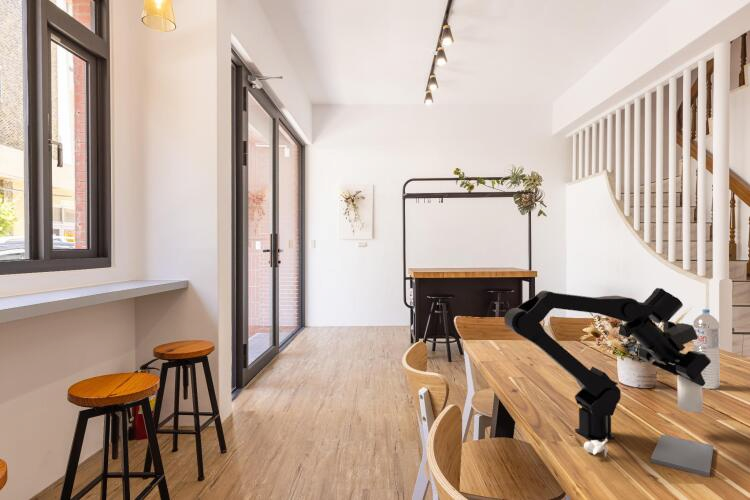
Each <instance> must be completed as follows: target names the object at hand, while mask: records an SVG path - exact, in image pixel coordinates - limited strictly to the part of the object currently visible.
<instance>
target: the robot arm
mask: <svg viewBox="0 0 750 500" xmlns="http://www.w3.org/2000/svg"><path fill="white" fill-rule="evenodd" d="M683 306H684V304H683V302H682V301H681V299H679V298H678V297H676V296H674V295H673V294H671V293H669V292H668V291H666V290H665V289H664V288H661V287H656V288H655V289H654V290H653V291H652V293H651V295H649V296H648V298H647V299H645V301H642V302H640V301H638V300H636V299H635V298H632V297H628V296H627V297H626V296H620V295H604V296H596V297H593V296H592V297H591V296H583V295H577V294H570V293H569V294H567V293H561V292H560V293H559V292H553V291H549V290H541V291H539V292H538V293H537V294H536V295H534V296H533V297H531V298H529V299H528V300H526V301H524V302H522V303H520V304H519V305H518V306H517V307H513V308H510V309H509V310H507V311H506V313H505V315H504V318H503V319H504V320H503V321H504V325H505V326H506V328H508V329H509V330H511V331H512V332H514V333H515V334H518V335H519V336H520V337H523V338H524V339H526V340H528V341H529V342H531V343H532V344H534V345H535V346H536V347H537V348H538V349H540V350H541V351H542V352H543V353H545V355H547V356H548V357H549V358H550V359H551V360H553V362H555V363H556V364H557V365H559V366H560V367H561V368H562V369H563V370H564V371H565V372H567V373H568V374H569V375H571V377H572V378H574V380H575V381H576V382H577V383H576V384H578V386H579V387H580V388H581V389H580V390H579V391H578V392H576V394H575V395H574V399H575V402H576V404H577V405H579V406H581V408H580V407H579V408H578V428H574V432H575V433H577V434H579V435H581V436H583V437H584V438H586V439H587V440H589V441H591V440H598V441H599V442H600V441H604V440H605V439H606V437H607V440H614V439H616V436H615V435H613V434H612V416H613V415H614V414H615V410H616V408H617V405H618V404H619V402H620V400H621V397H622V392H621V389H620V388H619V387H618V385H619V384H618V382H616V381H615V380H613V379H611V378H610V377H609V375H608V374H607V373H606V372H604V371H602V370H601V369H598V368H597V367H595V366H591V368H590V369H589V368H588V367H587V366H586V365H584V364H583V363H582V362H581V361H580V360H579V359H578V358H576V357H575V356H574V355H572V354H571V353H570V352H569V351H568V350H567V349H565V348H564V347H563V346H562V345H561V344H560V343H558V342H557V341H556V340H555V339H554V338H553V337H551V336H550V335H549V334H548V333H547V332H546V330H545V328H544V327H543V325H542V323H541V322H542V321H543V320H544V319H546V317H547V316H548V314H549V313H550V312H551V311H552V310H553V309H557V310H567V311H575V312H581V313H582V312H584V313H589V314H590V313H592V314H598V315H601V316H603V317H604V316H605V317H608V318H611V319H615V320H618V321H622V322H624V324H619V326H618V327H619V329H618V335H619V336H620V337H623V338H624V337H627V338H628V337H630V335H631V336H633V337H634V338H635V339H636V340H637V341H638V342H639V343H640V345H639V349H640V350H639V351H638V356H639V357H640V358H641V359H642V360H641V361H644V362H646V363H648V364H649V363H650V364H651V365H652V366H654V367H657V368H659V369H661V370H663V371H665V372H668V373H669V374H671V375H672V374H673V375H674V376H676V377H677V375H679V376H681V377H683V378H685V379H688V380H690V381H692V382H694V383H696V384H698V385H700V386H704V384H705V381H704V379H703V377H702V374H701V372H702V371H703V370H704V369H705V368H706V367H707V366H708V365H709V364H710V363H711V360H710V359H709V358H708V357H707V356H706V355H705V354H702V353H699V352H696V351H694V350H688V351H687V352H686V353H683V352H682V351H683V350H685V348H686V346H685V345H686V344H688V343H690V342H692V341H694V340H696V339H698V336H697V334H696V332H695V330H694V326H693V325H692V324H688V323H683V322H681V323H680V322H676V323H675V322H674V321H670V320H671V319H672V318H673V317H674V315H676V314H677V312H678V311H679V310H680V309H682V308H683ZM656 323H657V324H661V323H662V324H663V327H662V329H661V328H660V327H659V326H658V325H657V324H656ZM652 361H653V362H652ZM651 362H652V363H651Z"/></svg>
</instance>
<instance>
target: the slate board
mask: <svg viewBox="0 0 750 500" xmlns="http://www.w3.org/2000/svg"><path fill="white" fill-rule="evenodd" d="M713 454H714V445H713V444H709V443H704V442H699V441H694V440H690V439H684V438H681V437H676V436H671V435H667V434H662V433H661V434H660V436H659V438H658V441H657V444H656V446H655V447H654V450H653V452H652V454H651V457H650V463H653V464H655V465H661V466H664V467H669V468H673V469H675V470H681V471H684V472H689V473H693V474H697V475H701V476H704V477H711V476H710V475H711V469H712V468H711V467H712V461H713Z"/></svg>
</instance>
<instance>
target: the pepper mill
mask: <svg viewBox="0 0 750 500" xmlns="http://www.w3.org/2000/svg"><path fill="white" fill-rule="evenodd" d="M701 374H702V372H701ZM676 379H677V380H676V381H677V382H676V384H677V385H676V386H677V388H676V389H677V390H676V391H677V392H676V393H677V408H678V409H679V410H681V411H685V412H689V413H702V412H703V409H704V408H703V407H704V406H703V388H702V386H700V385H698V384H696V383H694V382H692V381H690V380H688V379H685V378H683V377H681V376H679V375H677V376H676Z"/></svg>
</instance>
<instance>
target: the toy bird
mask: <svg viewBox="0 0 750 500" xmlns="http://www.w3.org/2000/svg"><path fill="white" fill-rule="evenodd" d="M608 441H609V439H607V437H606V439H605V440H602V441H600V440H599V441H598V440H589V441H585V442H584V444H583V448H584V450H585V451H586V452H588V453H590V454H593V456H595V455H597V453H601V452H603V451H604V452H603V453H604V457H605V458H606V457H607V453H608V451H609V446H605V443H607V442H608Z"/></svg>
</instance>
